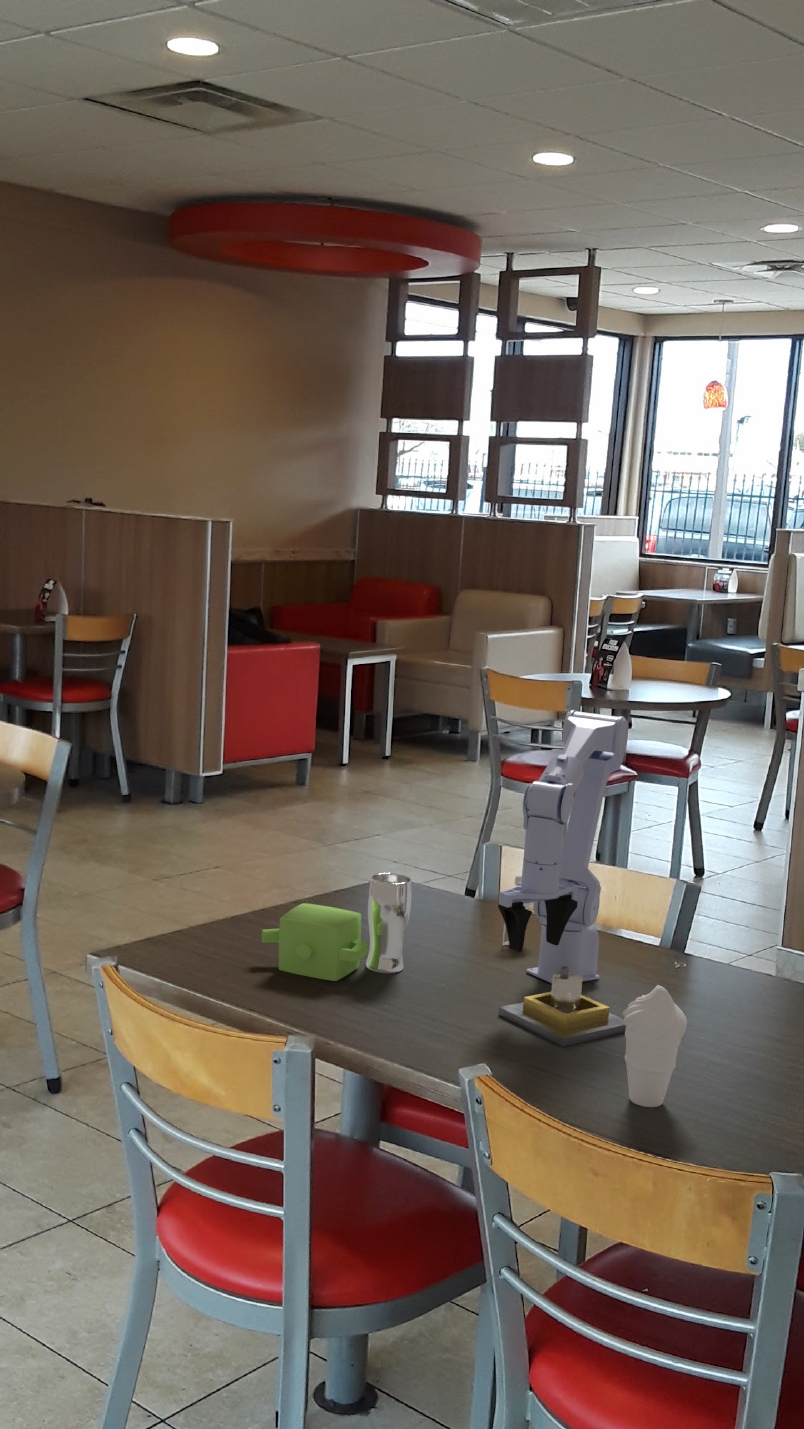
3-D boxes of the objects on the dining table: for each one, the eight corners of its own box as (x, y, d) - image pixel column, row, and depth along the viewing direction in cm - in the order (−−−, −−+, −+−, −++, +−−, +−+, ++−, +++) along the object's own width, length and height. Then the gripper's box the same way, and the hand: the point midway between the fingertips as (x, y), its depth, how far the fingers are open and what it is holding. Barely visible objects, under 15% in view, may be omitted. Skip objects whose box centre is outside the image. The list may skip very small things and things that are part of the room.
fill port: (566, 1000, 223) (568, 981, 222) (631, 1030, 212) (633, 1010, 211) (498, 1014, 214) (500, 994, 214) (562, 1046, 203) (564, 1025, 203)
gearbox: (247, 970, 227) (248, 913, 225) (277, 951, 236) (278, 896, 234) (349, 990, 220) (351, 932, 218) (375, 970, 229) (377, 914, 227)
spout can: (557, 1007, 216) (562, 959, 215) (583, 1014, 213) (588, 965, 212) (544, 1014, 212) (548, 965, 211) (570, 1022, 210) (575, 972, 209)
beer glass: (401, 976, 228) (408, 886, 226) (358, 970, 229) (365, 880, 227) (409, 963, 235) (416, 875, 232) (368, 958, 236) (375, 870, 234)
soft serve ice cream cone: (607, 1086, 190) (619, 971, 188) (668, 1088, 191) (681, 974, 189) (622, 1113, 182) (635, 993, 180) (686, 1115, 183) (699, 996, 180)
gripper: (559, 849, 223) (551, 933, 225) (488, 858, 215) (481, 945, 216) (590, 860, 218) (582, 946, 220) (519, 869, 209) (511, 958, 211)
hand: (534, 946), depth 218 cm, fingers open, 7 cm apart
